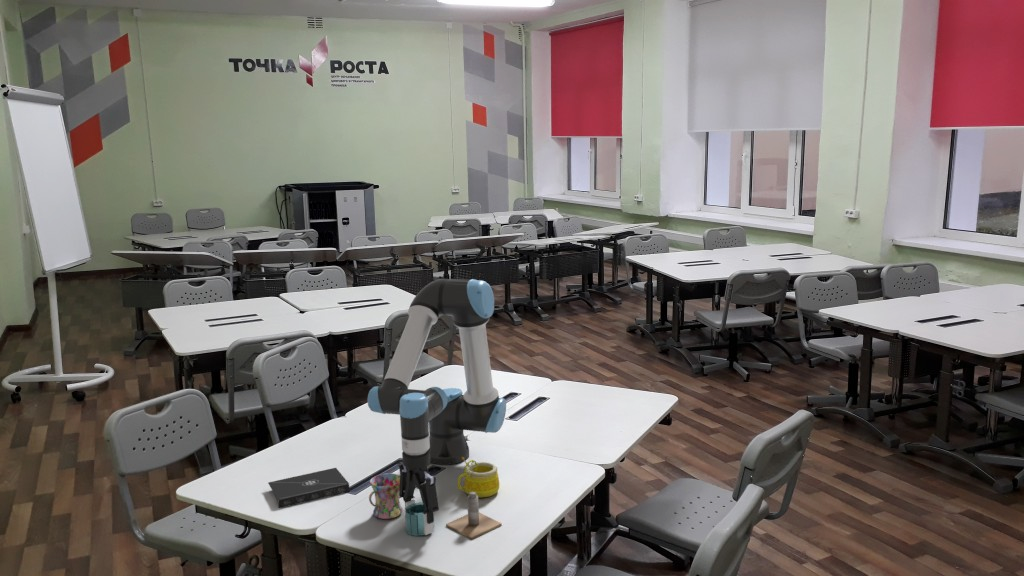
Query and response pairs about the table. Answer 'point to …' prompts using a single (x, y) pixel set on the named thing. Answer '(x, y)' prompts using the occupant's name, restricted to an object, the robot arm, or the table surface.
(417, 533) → the teal slatted pot
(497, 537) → the table surface
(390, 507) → the mug
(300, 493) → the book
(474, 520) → the peg on square base
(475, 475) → the mug
